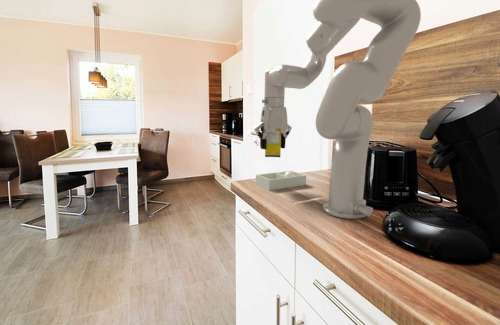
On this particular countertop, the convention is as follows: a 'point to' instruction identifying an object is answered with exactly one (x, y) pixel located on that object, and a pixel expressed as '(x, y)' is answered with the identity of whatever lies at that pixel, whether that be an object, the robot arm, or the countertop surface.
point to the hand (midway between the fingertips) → (272, 148)
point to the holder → (280, 180)
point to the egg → (289, 174)
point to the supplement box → (273, 144)
